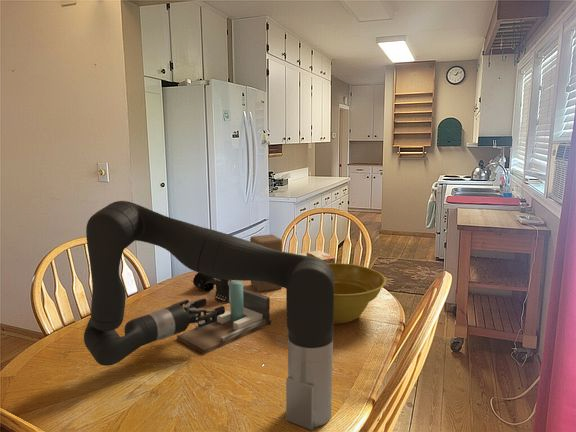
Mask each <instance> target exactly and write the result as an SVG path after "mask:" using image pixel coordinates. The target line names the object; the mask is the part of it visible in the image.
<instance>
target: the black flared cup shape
mask: <svg viewBox="0 0 576 432" xmlns="http://www.w3.org/2000/svg"><path fill="white" fill-rule="evenodd" d="M192 282H193V283H192V284H193V285H194V287H195V288H197V289H198V290H200V291H204V292H212V291H214V288H215V286H216V285H215V284H213V283H212V276H209V275H205V274H202V273H199V272H196V274H195V276H194V277H193V281H192Z"/></svg>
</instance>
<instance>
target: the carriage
mask: <svg viewBox="0 0 576 432" xmlns="http://www.w3.org/2000/svg"><path fill="white" fill-rule="evenodd" d="M230 320H231V310H230V309H229V310H225V313H224V314H222V315H219V316H217V322H218V323H221V324H223V323H225V322H228V321H230ZM260 320H262V314H260V313H258V312H255V311H253V310H250V309H247V308H245V307H244V318H242V319H240V320H237V321H235V322H233V329H234V330H239V329H241V328H243V327H246V326H248V325H250V324H253V323H255V322H257V321H260Z"/></svg>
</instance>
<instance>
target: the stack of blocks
mask: <svg viewBox="0 0 576 432" xmlns="http://www.w3.org/2000/svg"><path fill="white" fill-rule="evenodd" d="M297 254H298V255H304V256H309V257H314V258H318V259H321V260H323V261H324V262H326V263H336V257H334V256H332V254H329V253H327V252H324V251H322V250H320V249H319V250H313V251H307V252H302V253H297Z"/></svg>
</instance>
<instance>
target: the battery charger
mask: <svg viewBox="0 0 576 432" xmlns="http://www.w3.org/2000/svg"><path fill="white" fill-rule="evenodd" d="M230 282H232V280H225V279H220V278H215V277H212V283H213V284H215V285H214V286H215V296H214V300H215V301H217V302H220V303H222V304H228V303H230Z"/></svg>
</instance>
